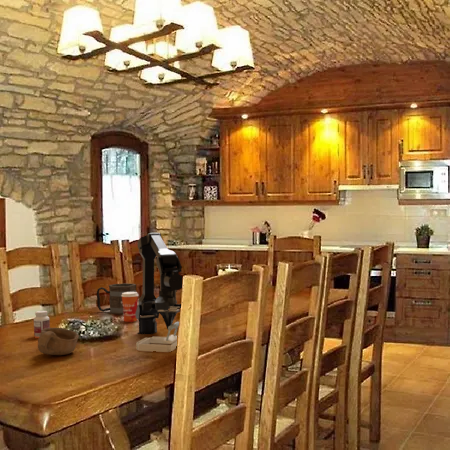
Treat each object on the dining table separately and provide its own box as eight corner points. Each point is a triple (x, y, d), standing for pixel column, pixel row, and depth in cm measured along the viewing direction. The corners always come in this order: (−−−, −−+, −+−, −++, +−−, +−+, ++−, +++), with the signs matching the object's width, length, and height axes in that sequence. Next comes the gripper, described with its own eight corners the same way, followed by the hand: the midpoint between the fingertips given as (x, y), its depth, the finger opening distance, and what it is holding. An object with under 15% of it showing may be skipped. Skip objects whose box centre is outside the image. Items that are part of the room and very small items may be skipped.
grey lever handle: (162, 341, 236) (166, 325, 236) (171, 335, 246) (175, 320, 245) (170, 343, 236) (174, 327, 235) (179, 338, 245) (183, 322, 245)
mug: (139, 313, 323) (139, 283, 322) (134, 318, 309) (133, 286, 309) (100, 313, 324) (100, 283, 324) (93, 318, 311) (92, 287, 310)
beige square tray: (134, 351, 237) (134, 343, 237) (148, 343, 250) (147, 336, 250) (170, 353, 234) (170, 345, 234) (182, 345, 247) (182, 337, 247)
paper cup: (118, 324, 293) (117, 293, 292) (127, 321, 300) (126, 291, 299) (133, 325, 290) (133, 294, 289) (142, 322, 297) (141, 291, 296)
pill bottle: (49, 336, 269) (48, 309, 268) (50, 339, 263) (50, 312, 262) (33, 337, 266) (32, 310, 266) (34, 340, 261) (34, 313, 260)
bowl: (69, 362, 223) (68, 333, 222) (28, 362, 224) (27, 333, 223) (83, 350, 241) (82, 323, 240) (45, 351, 241) (44, 324, 241)
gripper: (135, 289, 235) (136, 333, 235) (185, 290, 230) (186, 334, 231) (147, 286, 246) (148, 327, 246) (194, 286, 241) (195, 328, 241)
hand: (168, 329), depth 241 cm, fingers closed
